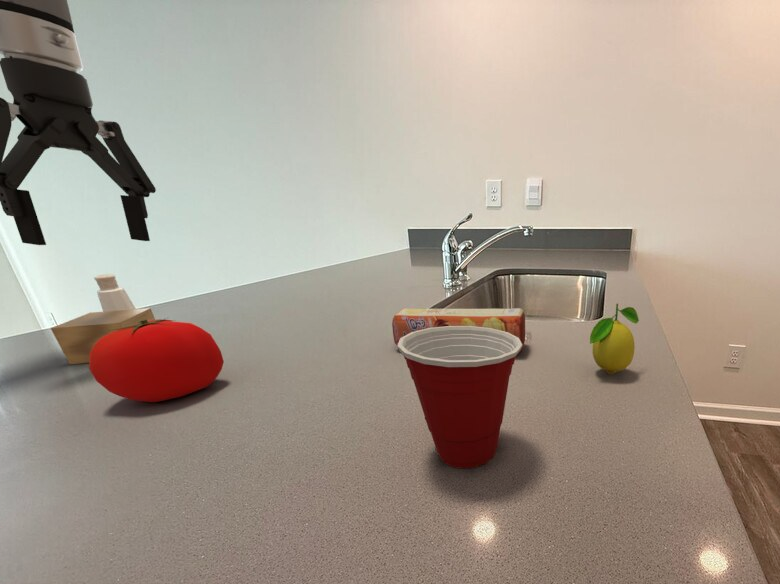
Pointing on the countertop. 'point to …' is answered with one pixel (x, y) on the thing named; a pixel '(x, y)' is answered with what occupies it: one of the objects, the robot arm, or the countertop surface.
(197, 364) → the tomato
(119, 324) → the wood block
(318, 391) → the countertop surface
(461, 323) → the snack package
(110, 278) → the salt shaker
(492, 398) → the plastic cup
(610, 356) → the lemon
